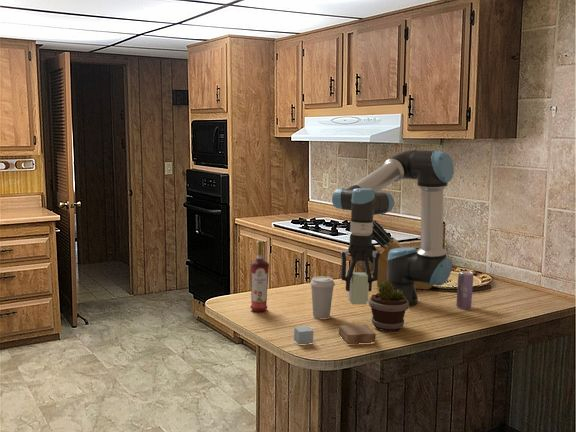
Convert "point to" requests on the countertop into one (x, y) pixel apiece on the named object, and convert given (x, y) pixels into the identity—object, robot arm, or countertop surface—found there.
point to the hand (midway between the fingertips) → (358, 300)
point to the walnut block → (357, 334)
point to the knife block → (387, 245)
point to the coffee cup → (322, 296)
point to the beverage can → (464, 290)
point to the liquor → (259, 280)
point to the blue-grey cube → (303, 335)
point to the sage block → (359, 287)
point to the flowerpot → (388, 307)
